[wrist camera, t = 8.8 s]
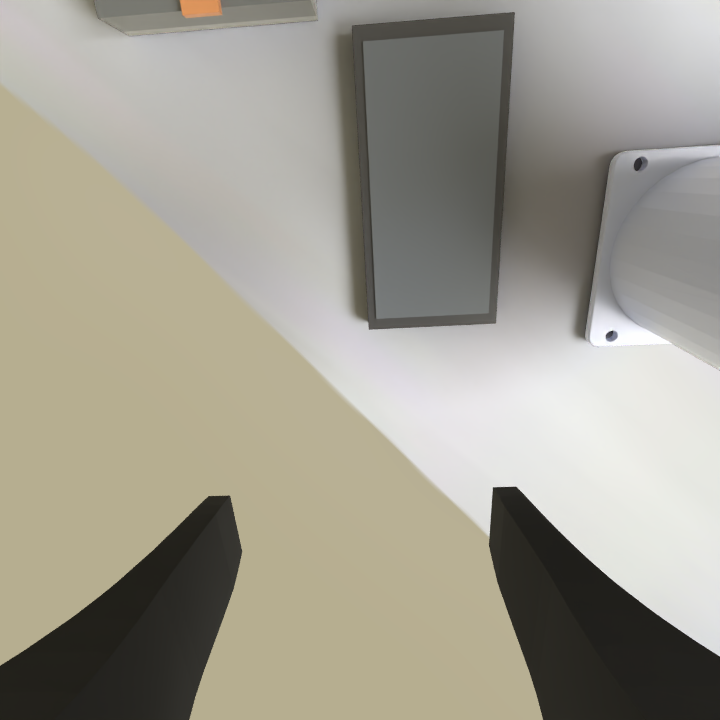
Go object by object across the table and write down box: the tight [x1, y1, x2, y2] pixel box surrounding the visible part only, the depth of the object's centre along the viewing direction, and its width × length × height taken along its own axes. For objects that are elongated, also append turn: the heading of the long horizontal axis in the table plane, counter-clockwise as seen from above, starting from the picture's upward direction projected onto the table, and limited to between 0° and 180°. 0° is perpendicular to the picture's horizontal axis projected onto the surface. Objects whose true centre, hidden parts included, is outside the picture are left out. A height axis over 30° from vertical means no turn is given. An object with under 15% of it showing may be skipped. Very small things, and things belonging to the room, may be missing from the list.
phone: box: [352, 12, 515, 329], centre depth 17 cm, size 6×11×1 cm, turn 3°
